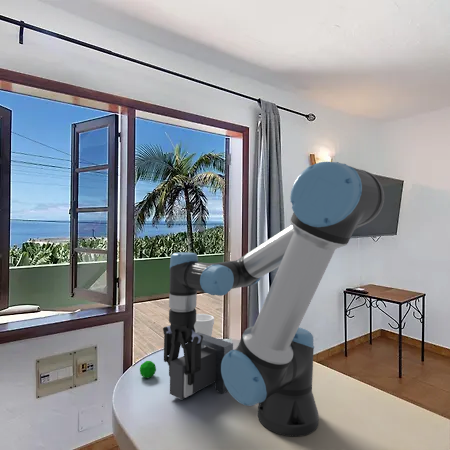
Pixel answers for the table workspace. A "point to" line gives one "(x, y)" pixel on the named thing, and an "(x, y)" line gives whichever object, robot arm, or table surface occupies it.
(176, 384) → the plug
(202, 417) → the table surface
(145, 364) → the polyhedron
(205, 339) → the grey arch
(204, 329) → the foam cup
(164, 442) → the table surface
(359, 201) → the robot arm
